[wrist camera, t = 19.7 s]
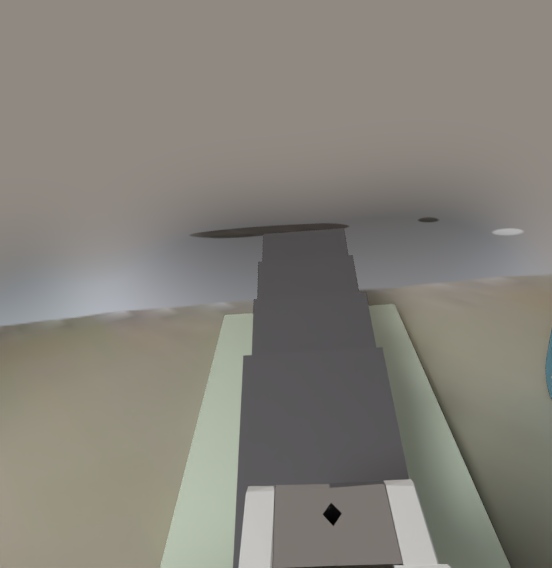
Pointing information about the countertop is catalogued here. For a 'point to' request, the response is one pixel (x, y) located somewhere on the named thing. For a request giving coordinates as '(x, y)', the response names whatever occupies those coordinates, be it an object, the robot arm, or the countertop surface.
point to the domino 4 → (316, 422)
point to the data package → (549, 366)
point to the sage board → (414, 436)
